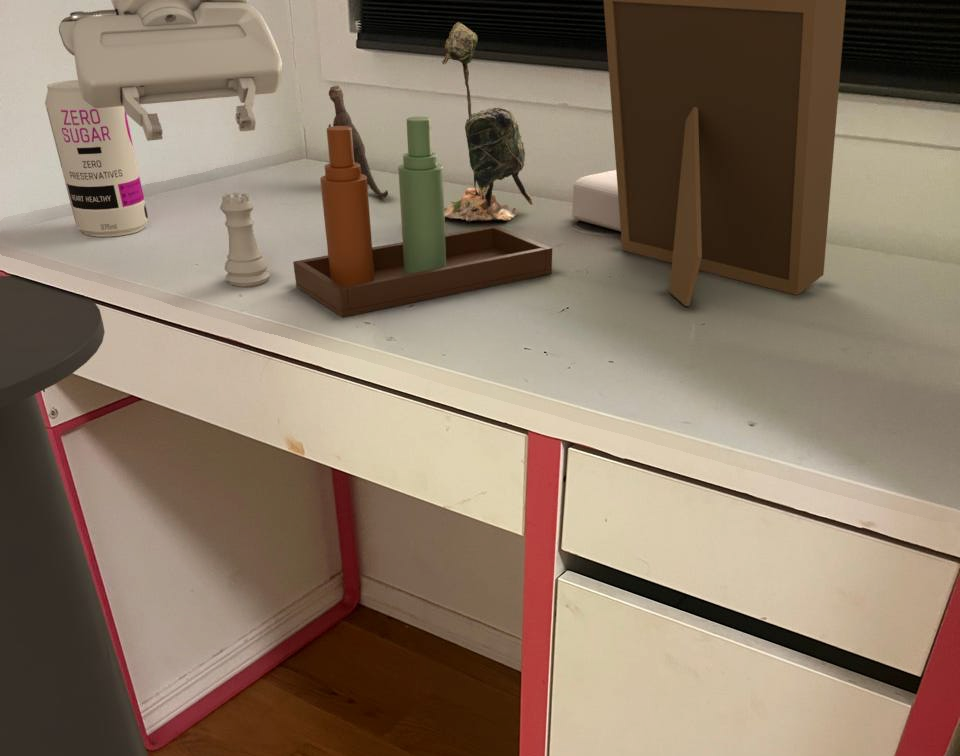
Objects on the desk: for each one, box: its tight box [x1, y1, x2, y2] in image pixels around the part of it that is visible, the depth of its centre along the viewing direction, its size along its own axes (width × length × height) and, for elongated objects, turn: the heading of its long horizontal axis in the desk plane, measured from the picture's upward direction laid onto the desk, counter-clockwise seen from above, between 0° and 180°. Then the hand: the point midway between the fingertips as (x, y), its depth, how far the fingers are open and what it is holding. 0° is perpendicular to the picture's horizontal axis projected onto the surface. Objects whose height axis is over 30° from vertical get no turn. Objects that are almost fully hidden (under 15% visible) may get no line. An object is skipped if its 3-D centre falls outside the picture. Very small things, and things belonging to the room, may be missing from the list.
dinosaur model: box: [327, 85, 389, 199], centre depth 123 cm, size 4×12×15 cm
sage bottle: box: [397, 116, 446, 274], centre depth 92 cm, size 4×4×14 cm
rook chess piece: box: [219, 192, 271, 288], centre depth 94 cm, size 4×4×8 cm
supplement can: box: [44, 79, 149, 238], centre depth 109 cm, size 8×8×15 cm
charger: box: [571, 169, 621, 233], centre depth 109 cm, size 5×9×15 cm
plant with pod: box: [441, 21, 534, 222], centre depth 109 cm, size 8×11×20 cm
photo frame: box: [603, 0, 847, 307], centre depth 88 cm, size 15×22×25 cm
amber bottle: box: [319, 125, 375, 286], centre depth 88 cm, size 4×4×14 cm
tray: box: [292, 225, 553, 318], centre depth 95 cm, size 24×11×2 cm, turn 122°
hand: (202, 131), depth 96 cm, fingers open, 8 cm apart
